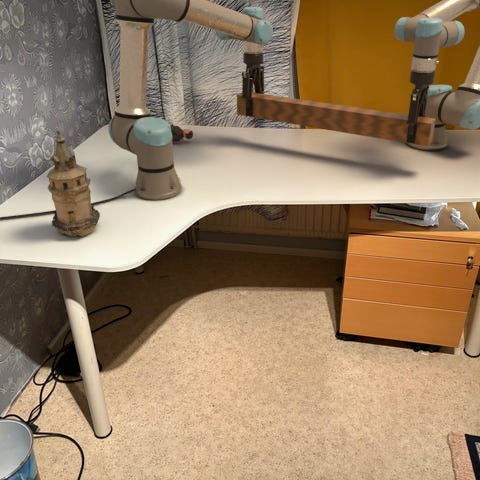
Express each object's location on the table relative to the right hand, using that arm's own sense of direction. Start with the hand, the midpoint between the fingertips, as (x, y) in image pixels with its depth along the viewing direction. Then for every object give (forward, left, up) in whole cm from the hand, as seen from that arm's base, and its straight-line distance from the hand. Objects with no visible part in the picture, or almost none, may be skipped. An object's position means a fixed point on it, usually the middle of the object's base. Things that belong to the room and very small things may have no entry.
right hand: (413, 139), depth 183 cm
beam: (+3, -31, 0) cm, 31 cm away
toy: (+26, -97, -12) cm, 101 cm away
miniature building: (+95, -62, -12) cm, 114 cm away
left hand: (+7, -62, +1) cm, 63 cm away
